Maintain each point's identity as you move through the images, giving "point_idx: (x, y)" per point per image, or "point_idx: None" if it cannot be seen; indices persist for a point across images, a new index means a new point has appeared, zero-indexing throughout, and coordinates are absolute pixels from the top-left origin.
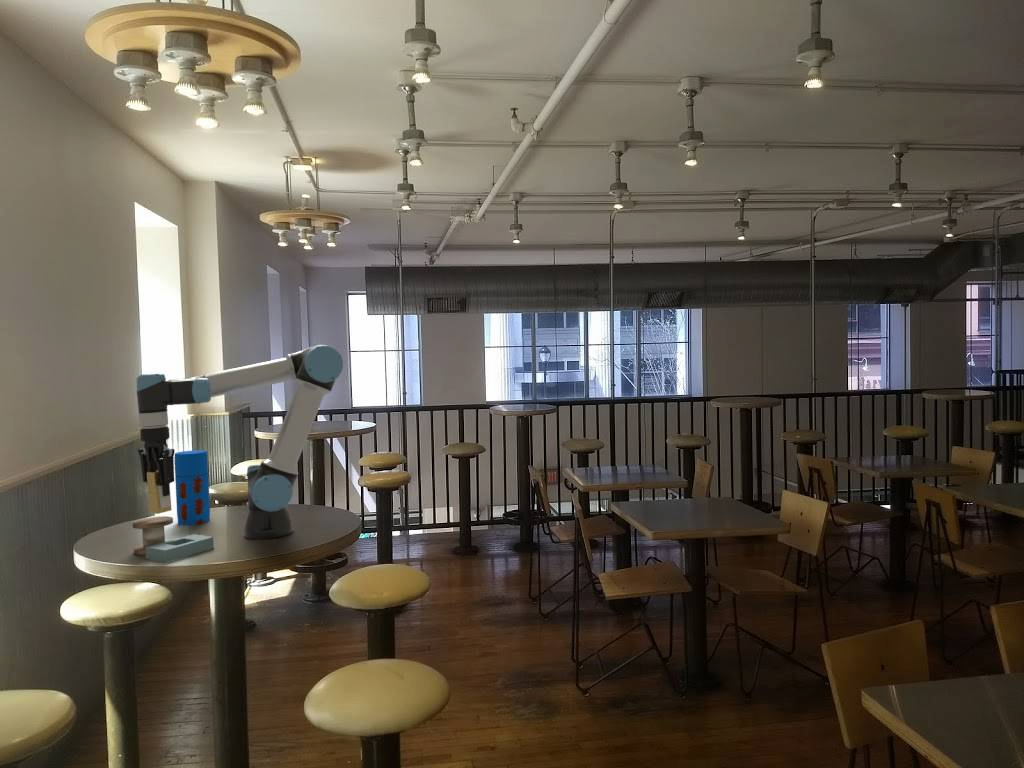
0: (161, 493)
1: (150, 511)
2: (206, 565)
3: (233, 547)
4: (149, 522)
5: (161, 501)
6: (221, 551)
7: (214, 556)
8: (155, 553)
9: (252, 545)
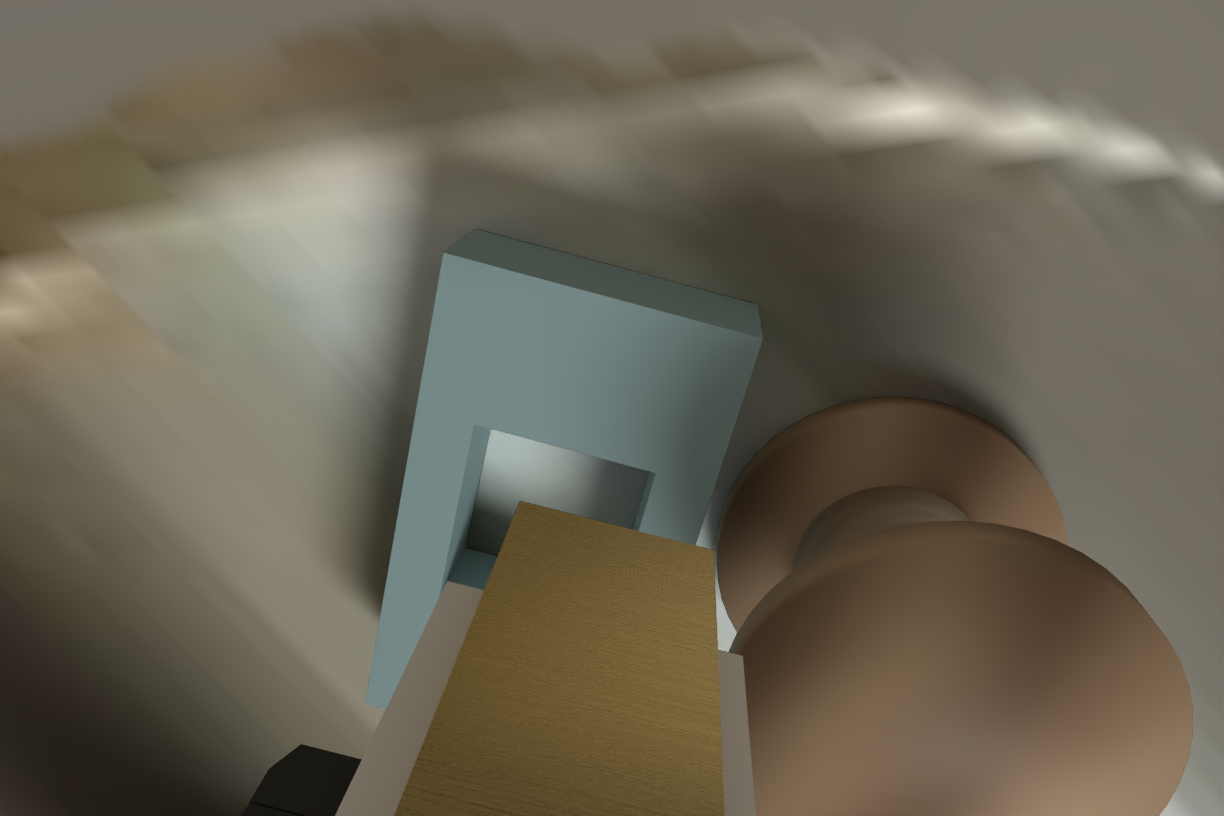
0: (352, 787)
1: (695, 561)
2: (52, 208)
3: (268, 674)
4: (919, 659)
5: (414, 659)
6: (270, 575)
7: (209, 448)
8: (608, 282)
9: (171, 726)
